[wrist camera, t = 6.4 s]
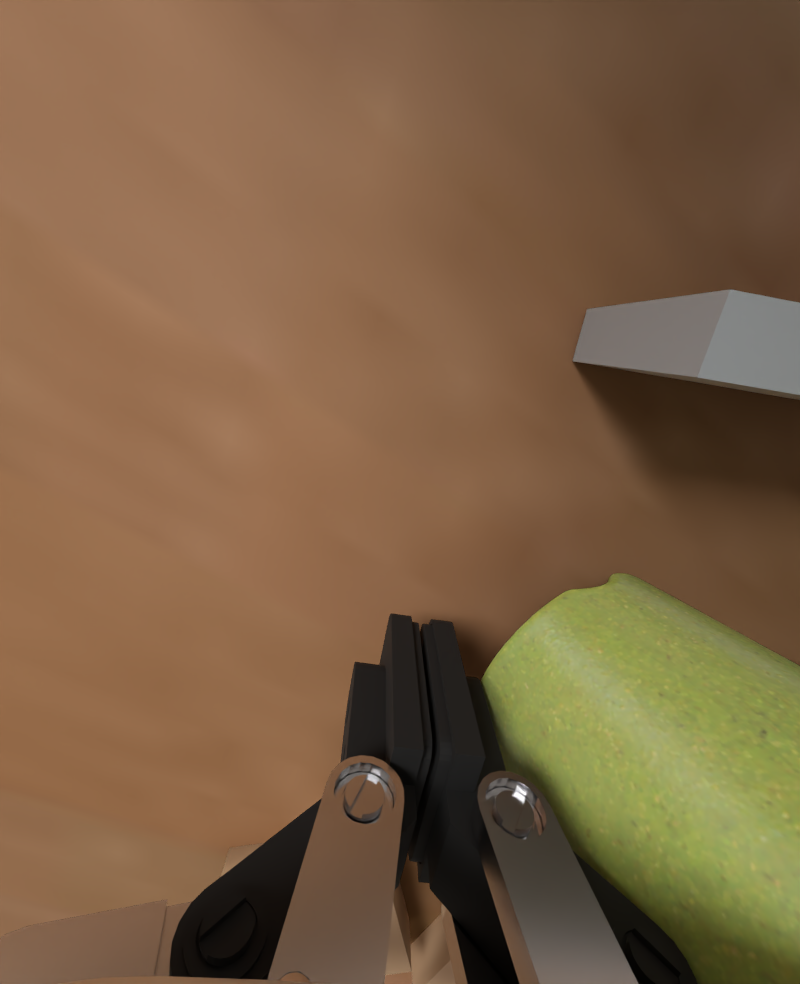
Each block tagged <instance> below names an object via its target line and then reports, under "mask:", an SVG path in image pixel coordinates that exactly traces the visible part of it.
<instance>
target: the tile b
mask: <svg viewBox="0 0 800 984" xmlns="http://www.w3.org/2000/svg"><path fill="white" fill-rule="evenodd" d="M411 968H412V984H456V983H455V978H454V974H453V969H452V964H451V960H450V955H449V950H448V946H447V941H446V936H445V931H444V927H443V922H442V913H441V914H440V915H439V916H438V917H437V918H436V919H435V920H434V921H433V922H432V923H431V924H430V925H429V926H428V927H427V928H426V929H425V931H424V932H423V933H422V934H421V935H420V936H419V937H418V938H417V939H416V940H415V941H414V942H413V943H412V944H411Z"/></svg>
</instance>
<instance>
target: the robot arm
mask: <svg viewBox="0 0 800 984" xmlns="http://www.w3.org/2000/svg"><path fill="white" fill-rule="evenodd" d="M407 853H408V856H409V860H410V861H414V862H417V865H418V882H424V883H430V889H431V891H432V892H433V893H434V894H435V895H436V897H437V898H438V899H439V900H440V901H441V902H442V905H441V913H442V922H443V927H444V931H445V936H446V941H447V946H448V950H449V955H450V960H451V964H452V969H453V974H454V978H455V983H456V984H697V980H696V978H695V976H694V974H693V972H692V970H691V968H690V966H689V964H688V962H687V960H686V958H685V957H684V955H683V954H682V952H681V951H680V950H679V948H678V947H677V945H676V944H675V942H674V941H673V940H672V939H671V938H670V937H669V936H668V935H667V934H666V933H665V932H664V931H663V930H662V929H661V928H660V927H659V926H658V925H657V924H656V923H655V922H654V921H652V920H651V919H650V918H649V917H648V916H647V915H646V914H645V913H643V912H642V911H641V910H640V909H639V908H638V907H637V906H635V905H634V904H633V903H632V902H631V901H630V900H629V899H627V898H626V897H625V896H624V895H623V894H622V893H621V892H619V891H618V890H617V889H616V888H615V887H614V886H613V885H611V884H610V883H609V882H608V881H607V880H606V879H605V878H604V877H602V876H601V875H600V874H599V873H598V872H597V871H596V870H594V869H593V868H592V867H591V866H590V865H589V864H588V863H586V862H585V861H584V860H583V859H582V858H581V857H580V856H578V855H577V854H576V853H575V852H574V851H573V850H572V848H571V846H570V844H569V842H568V840H567V838H566V836H565V834H564V832H563V830H562V828H561V826H560V824H559V822H558V820H557V818H556V816H555V814H554V812H553V810H552V808H551V806H550V804H549V803H548V801H547V800H546V798H545V796H544V795H543V793H542V792H541V791H540V790H539V789H538V788H537V787H536V786H535V785H534V784H533V783H531V782H530V781H528V780H527V779H525V778H524V777H522V776H520V775H518V774H515V773H513V772H507V771H506V768H505V765H504V761H503V758H502V754H501V751H500V747H499V744H498V740H497V737H496V733H495V730H494V726H493V723H492V719H491V716H490V712H489V709H488V705H487V702H486V698H485V695H484V691H483V688H482V685H481V682H480V680H479V679H478V678H475V677H467V676H466V675H465V671H464V667H463V663H462V659H461V655H460V651H459V647H458V643H457V639H456V635H455V630H454V626H453V623H452V622H448V621H441V620H433V619H431V620H430V622H429V625H428V624H422V627H421V631H419V624H418V623H415V622H412V618H411V616H405V615H398V614H390V616H389V621H388V625H387V630H386V635H385V640H384V645H383V650H382V655H381V660H380V664H379V665H375V664H367V663H360V662H355V664H354V669H353V674H352V679H351V685H350V691H349V697H348V704H347V711H346V718H345V727H344V736H343V745H342V754H341V762H340V763H339V764H338V765H337V766H336V767H335V768H334V769H333V770H332V772H331V774H330V776H329V778H328V780H327V783H326V786H325V789H324V793H323V796H322V799H320V800H319V801H318V802H316V803H315V804H314V805H313V806H311V807H310V808H309V809H307V810H306V811H305V812H304V813H302V814H301V815H300V816H299V817H297V818H296V819H295V820H293V821H292V822H291V823H290V824H288V825H287V826H286V827H284V828H283V829H282V830H281V831H279V832H278V833H277V834H275V835H274V836H273V837H272V838H270V839H269V840H268V841H266V842H265V843H264V844H263V845H261V846H260V847H259V848H257V849H256V850H255V851H254V852H252V853H251V854H250V855H248V856H247V857H246V858H245V859H243V860H242V861H241V862H239V863H238V864H237V865H236V866H234V867H233V868H232V869H230V870H229V871H228V872H227V873H225V874H224V875H223V876H221V877H220V878H219V879H218V880H216V881H215V882H214V883H212V884H211V885H210V886H209V887H207V888H206V889H205V890H204V891H203V892H202V893H201V894H200V895H199V896H198V897H197V898H196V899H195V900H194V901H193V902H188V903H182V904H177V905H172V906H167V900H161V901H156V902H151V903H146V904H140V905H135V906H130V907H125V908H119V909H114V910H109V911H104V912H98V913H93V914H88V915H82V916H77V917H72V918H67V919H61V920H56V921H51V922H46V923H40V924H35V925H30V926H26V927H23V928H21V929H18V930H15V931H12V932H10V933H7V934H5V935H4V936H2V937H1V938H0V984H384V981H385V972H386V963H387V954H388V945H389V936H390V927H391V917H392V908H393V899H394V891H395V889H396V888H397V887H398V886H399V883H400V879H401V875H402V872H403V868H404V864H405V861H406V857H407Z"/></svg>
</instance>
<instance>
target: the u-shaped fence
mask: <svg viewBox="0 0 800 984" xmlns="http://www.w3.org/2000/svg"><path fill="white" fill-rule="evenodd" d="M573 361H574V362H580V363H586V364H592V365H598V366H603V367H609V368H615V369H621V370H627V371H633V372H638V373H644V374H650V375H656V376H662V377H668V378H673V379H679V380H685V381H691V382H697V383H703V384H708V385H714V386H720V387H726V388H732V389H738V390H743V391H749V392H755V393H761V394H767V395H773V396H778V397H784V398H790V399H796V400H800V303H799V302H793V301H788V300H783V299H778V298H773V297H767V296H762V295H757V294H752V293H747V292H741V291H736V290H731V289H729V290H722V291H715V292H708V293H700V294H693V295H686V296H678V297H671V298H664V299H657V300H649V301H642V302H635V303H627V304H620V305H613V306H606V307H598V308H591V309H587V311H586V315H585V318H584V322H583V325H582V329H581V333H580V336H579V340H578V343H577V347H576V350H575V354H574V357H573Z"/></svg>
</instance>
